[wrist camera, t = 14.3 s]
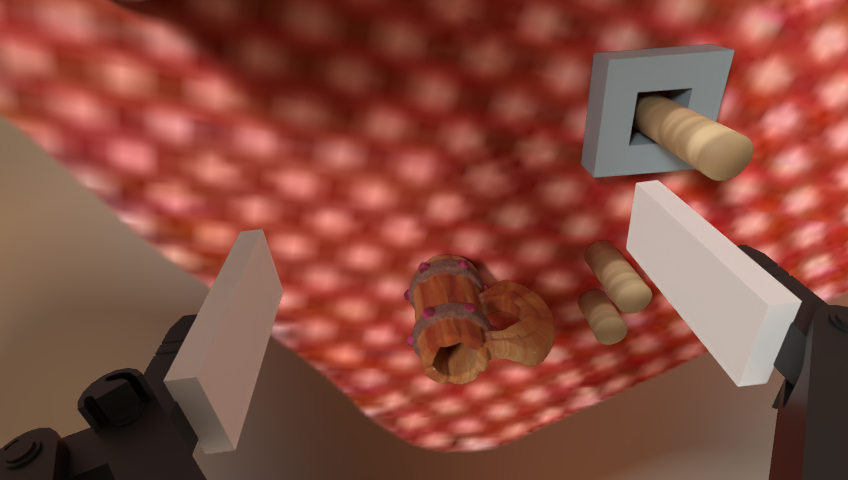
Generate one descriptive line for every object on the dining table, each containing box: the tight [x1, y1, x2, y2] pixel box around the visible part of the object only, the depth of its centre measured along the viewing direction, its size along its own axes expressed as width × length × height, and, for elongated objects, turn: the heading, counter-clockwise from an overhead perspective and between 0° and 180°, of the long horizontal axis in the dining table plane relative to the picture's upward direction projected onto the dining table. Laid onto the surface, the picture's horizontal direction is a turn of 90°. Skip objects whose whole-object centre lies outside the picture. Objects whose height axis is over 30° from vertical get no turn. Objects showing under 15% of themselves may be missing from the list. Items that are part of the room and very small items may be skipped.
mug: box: [404, 254, 555, 384], centre depth 49 cm, size 15×8×15 cm, turn 97°
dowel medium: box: [585, 240, 652, 313], centre depth 51 cm, size 4×4×9 cm
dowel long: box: [632, 91, 753, 181], centre depth 40 cm, size 4×4×14 cm
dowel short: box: [578, 289, 628, 345], centre depth 56 cm, size 4×4×6 cm
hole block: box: [581, 44, 735, 178], centre depth 45 cm, size 11×11×4 cm
